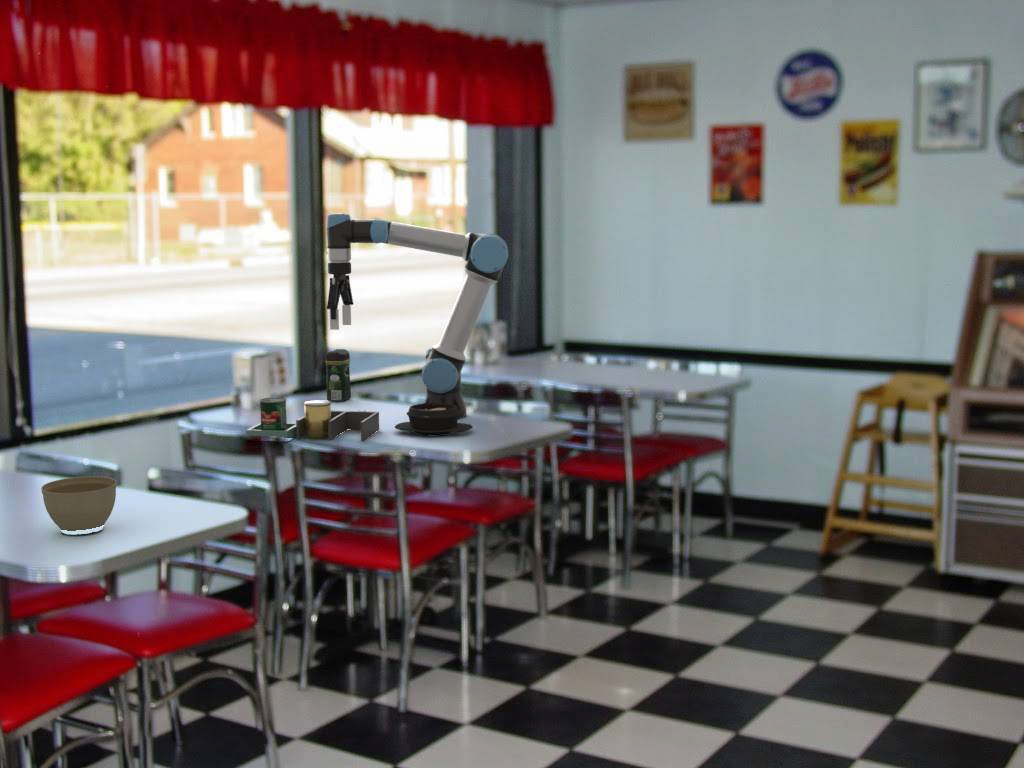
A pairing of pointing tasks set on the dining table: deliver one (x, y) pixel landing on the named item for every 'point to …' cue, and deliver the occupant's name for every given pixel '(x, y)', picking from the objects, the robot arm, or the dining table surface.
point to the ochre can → (317, 419)
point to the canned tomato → (273, 414)
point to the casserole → (433, 419)
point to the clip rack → (346, 423)
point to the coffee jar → (338, 375)
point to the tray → (274, 431)
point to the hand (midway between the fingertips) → (340, 327)
